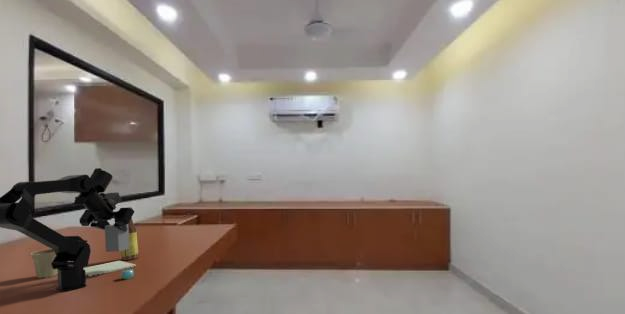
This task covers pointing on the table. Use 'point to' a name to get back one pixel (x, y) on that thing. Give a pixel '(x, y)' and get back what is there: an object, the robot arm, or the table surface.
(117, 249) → the grey rectangular block
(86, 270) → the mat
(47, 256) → the flower pot
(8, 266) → the table surface
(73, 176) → the robot arm
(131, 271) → the ball
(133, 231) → the sauce bottle
